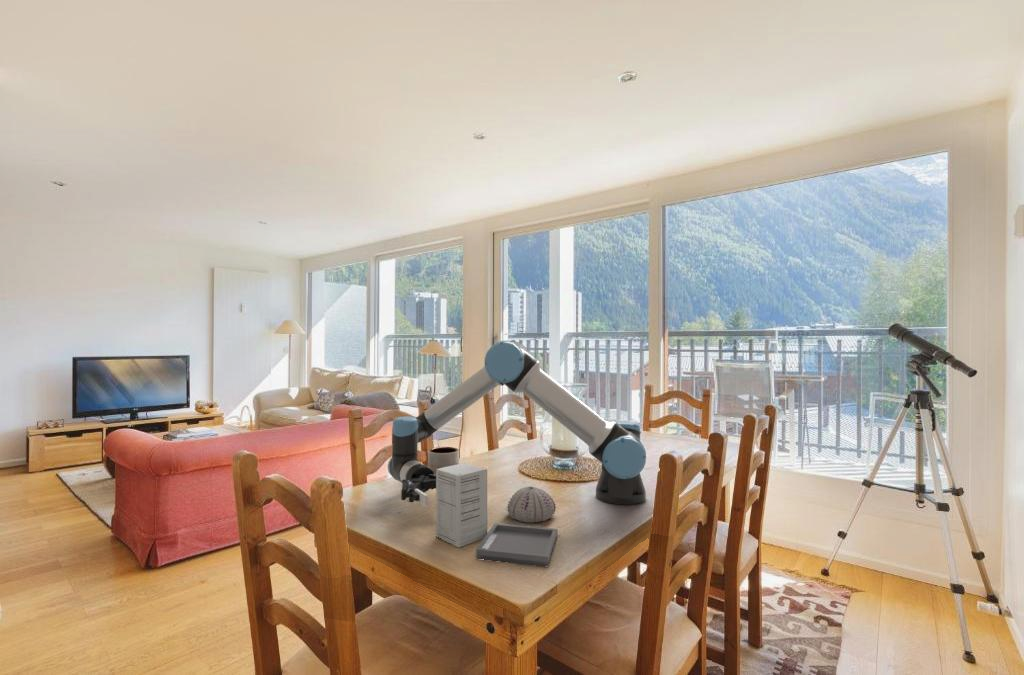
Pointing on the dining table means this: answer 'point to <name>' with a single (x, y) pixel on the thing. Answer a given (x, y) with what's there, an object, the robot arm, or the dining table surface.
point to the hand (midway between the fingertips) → (451, 496)
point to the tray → (518, 544)
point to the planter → (442, 457)
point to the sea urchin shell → (531, 505)
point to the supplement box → (461, 504)
